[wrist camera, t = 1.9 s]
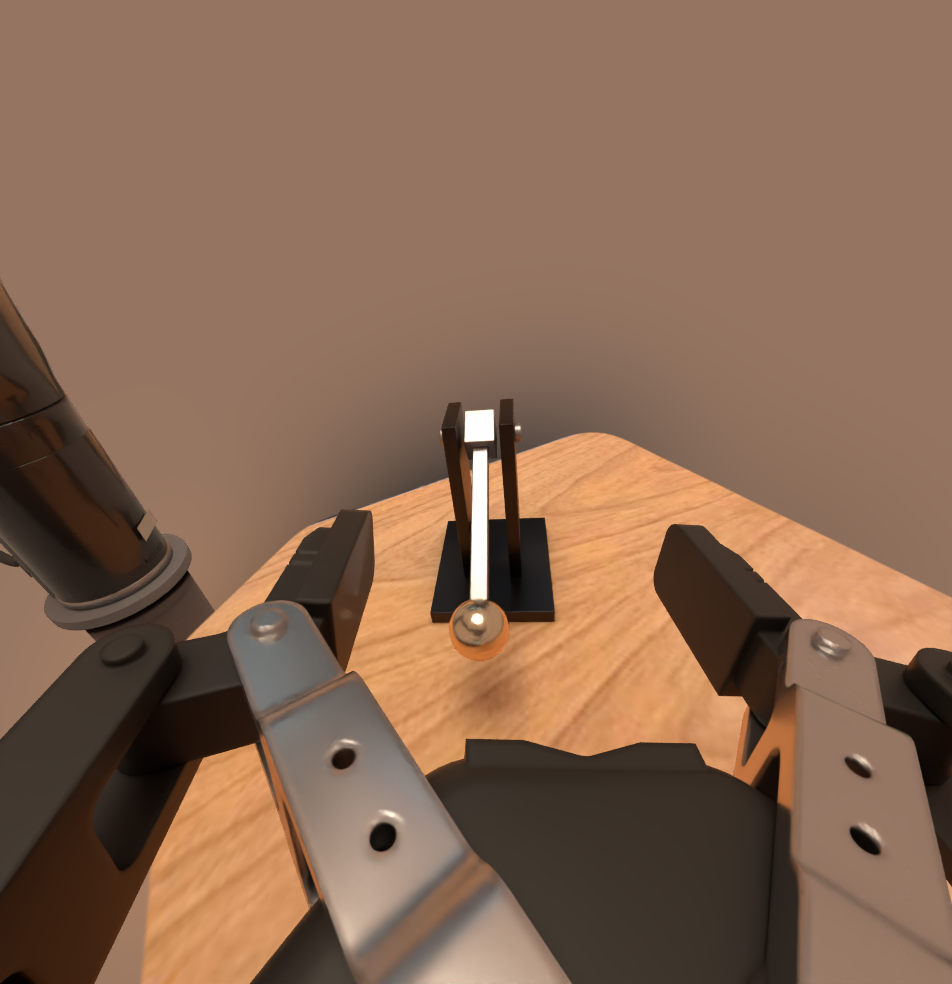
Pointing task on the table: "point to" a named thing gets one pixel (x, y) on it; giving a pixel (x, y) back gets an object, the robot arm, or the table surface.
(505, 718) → the table surface
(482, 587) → the lever
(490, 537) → the bracket
